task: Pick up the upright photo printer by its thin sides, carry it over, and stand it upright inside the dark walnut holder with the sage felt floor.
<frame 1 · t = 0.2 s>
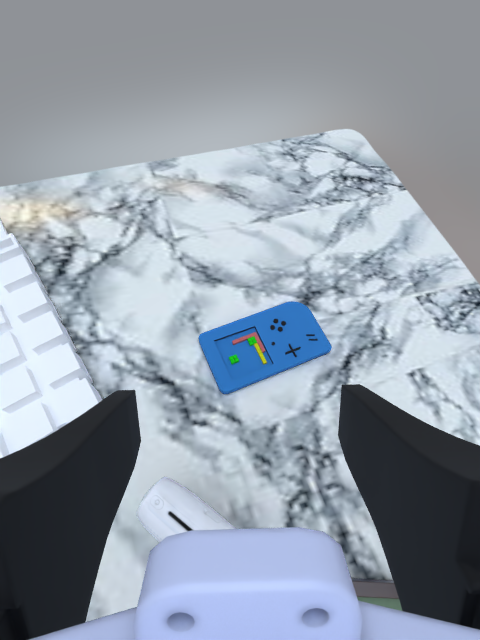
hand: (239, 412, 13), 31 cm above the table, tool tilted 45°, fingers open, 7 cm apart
handheld gaming device: (264, 345, 49), on the table
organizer: (2, 328, 48), on the table
photo printer: (201, 531, 39), on the table
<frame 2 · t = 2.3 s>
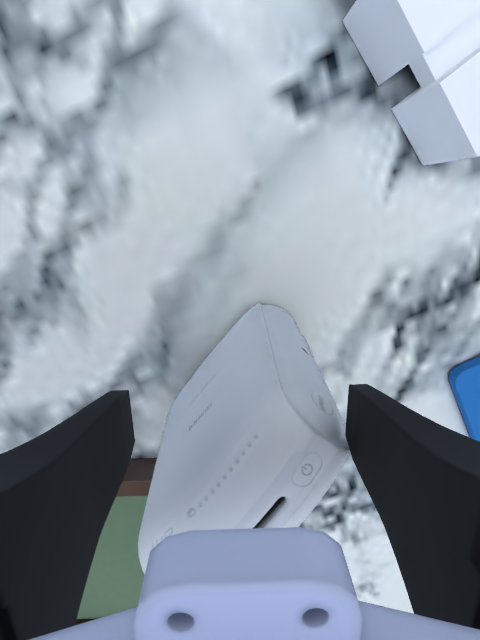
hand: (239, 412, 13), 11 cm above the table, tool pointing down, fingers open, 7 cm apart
holder: (100, 546, 29), on the table
photo printer: (234, 367, 24), on the table, touching gripper
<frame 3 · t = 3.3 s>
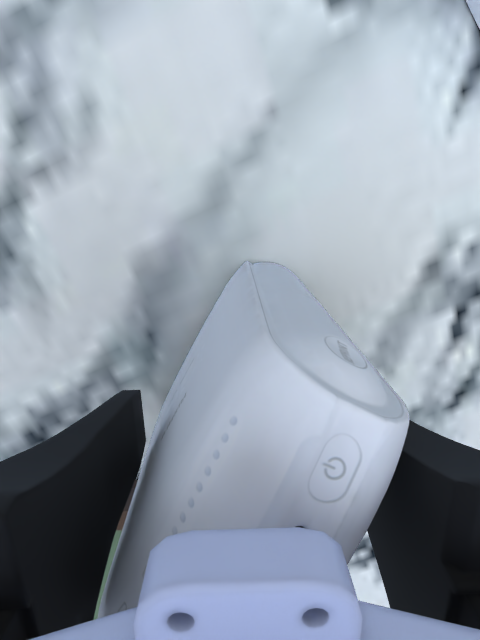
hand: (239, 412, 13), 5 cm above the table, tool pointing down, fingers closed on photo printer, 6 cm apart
holder: (75, 586, 23), on the table
photo printer: (232, 355, 19), on the table, touching gripper
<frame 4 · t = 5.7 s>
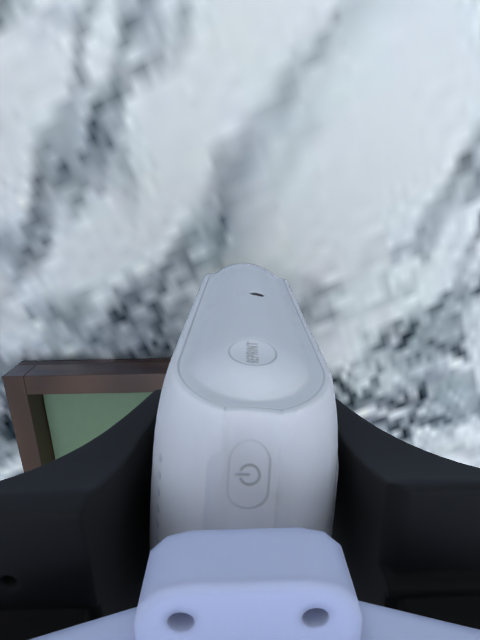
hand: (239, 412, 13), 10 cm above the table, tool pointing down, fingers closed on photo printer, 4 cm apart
holder: (142, 461, 26), on the table
photo printer: (239, 360, 19), point 4 cm above the table, touching gripper
when the fingers open (7 cm above the table, at t = 8.4 s): photo printer stays where it is, resting on holder.
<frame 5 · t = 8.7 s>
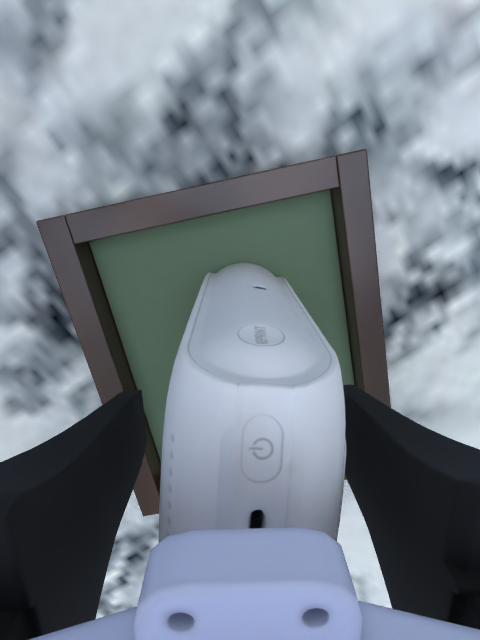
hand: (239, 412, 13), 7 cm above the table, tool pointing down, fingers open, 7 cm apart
holder: (237, 343, 20), on the table
photo printer: (238, 360, 19), point 1 cm above the table, touching holder
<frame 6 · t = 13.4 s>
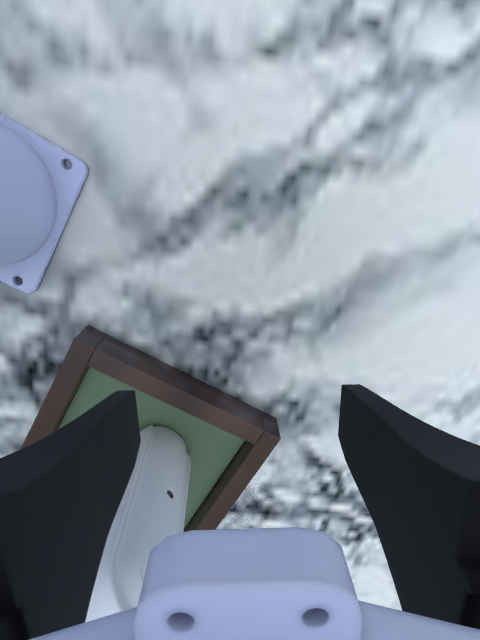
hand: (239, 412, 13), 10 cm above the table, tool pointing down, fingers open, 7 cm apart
holder: (134, 462, 26), on the table
photo printer: (127, 474, 26), point 1 cm above the table, touching holder
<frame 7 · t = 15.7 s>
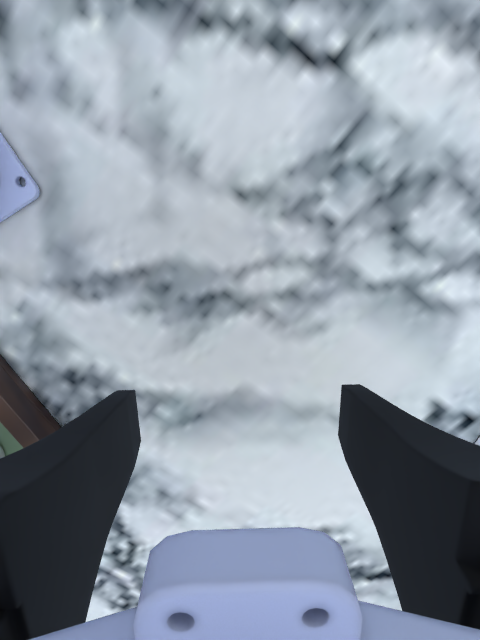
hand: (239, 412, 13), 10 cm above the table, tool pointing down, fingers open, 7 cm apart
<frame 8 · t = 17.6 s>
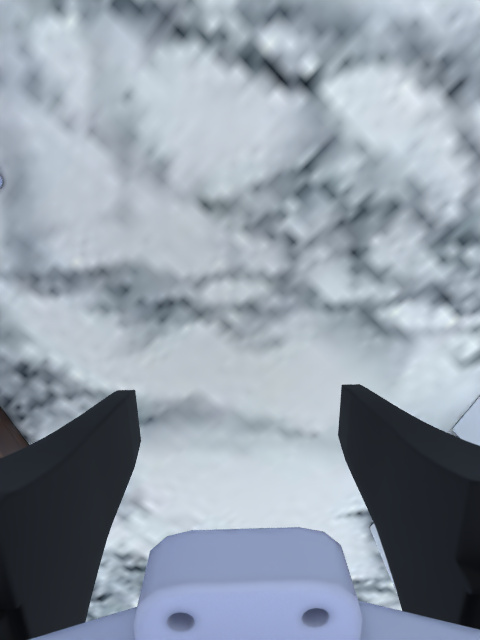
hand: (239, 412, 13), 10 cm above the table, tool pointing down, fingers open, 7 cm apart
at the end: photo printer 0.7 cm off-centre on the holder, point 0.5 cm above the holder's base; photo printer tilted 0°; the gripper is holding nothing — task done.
